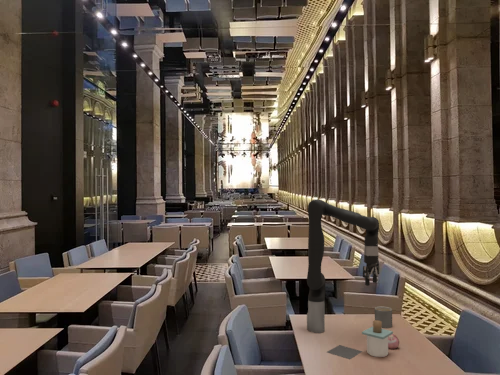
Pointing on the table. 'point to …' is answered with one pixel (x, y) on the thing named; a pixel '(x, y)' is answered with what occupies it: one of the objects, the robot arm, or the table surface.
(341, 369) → the table surface
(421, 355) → the table surface
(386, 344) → the cup
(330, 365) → the table surface
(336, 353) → the mat
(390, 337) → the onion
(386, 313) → the coffee mug
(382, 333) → the lid
